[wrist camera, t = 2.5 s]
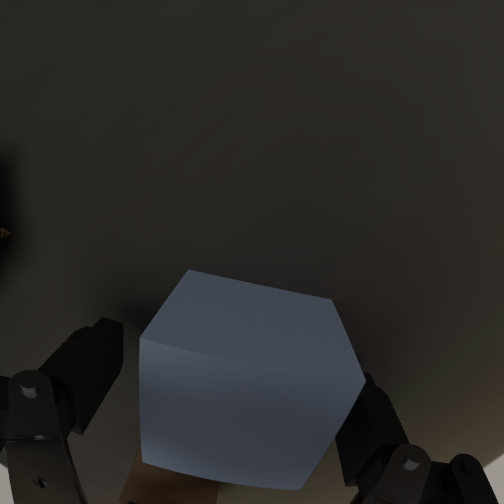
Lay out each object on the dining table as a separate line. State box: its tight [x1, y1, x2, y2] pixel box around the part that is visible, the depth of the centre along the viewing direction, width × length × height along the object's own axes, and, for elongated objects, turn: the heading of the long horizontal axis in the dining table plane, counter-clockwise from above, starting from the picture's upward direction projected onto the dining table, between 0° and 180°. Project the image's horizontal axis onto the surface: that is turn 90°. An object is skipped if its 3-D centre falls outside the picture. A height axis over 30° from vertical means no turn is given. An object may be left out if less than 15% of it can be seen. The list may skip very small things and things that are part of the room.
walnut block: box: [118, 446, 219, 504], centre depth 13 cm, size 4×4×5 cm
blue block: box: [139, 269, 366, 490], centre depth 10 cm, size 6×6×5 cm
